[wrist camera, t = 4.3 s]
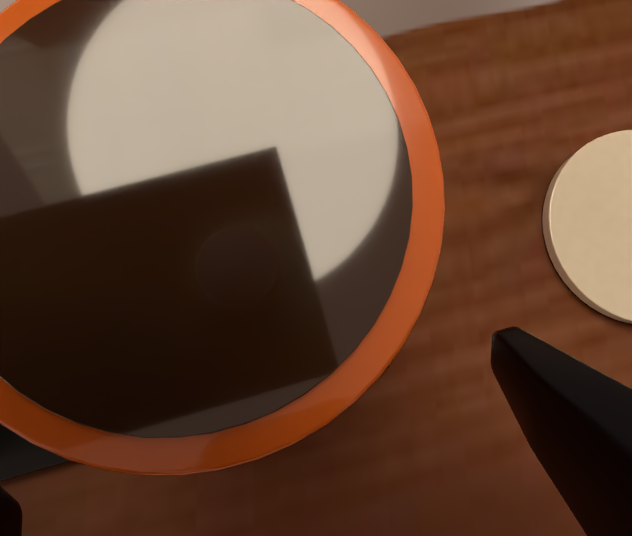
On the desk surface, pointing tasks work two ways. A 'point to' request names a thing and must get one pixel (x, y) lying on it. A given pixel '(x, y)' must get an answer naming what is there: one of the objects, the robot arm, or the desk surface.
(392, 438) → the desk surface
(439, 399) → the desk surface
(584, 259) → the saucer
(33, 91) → the cup
